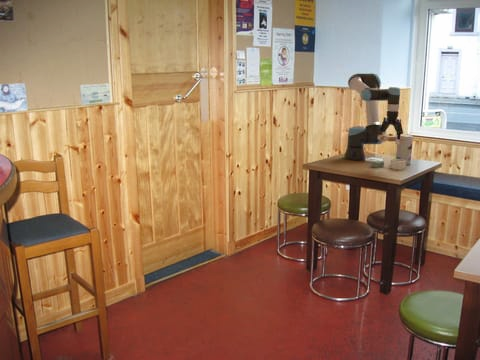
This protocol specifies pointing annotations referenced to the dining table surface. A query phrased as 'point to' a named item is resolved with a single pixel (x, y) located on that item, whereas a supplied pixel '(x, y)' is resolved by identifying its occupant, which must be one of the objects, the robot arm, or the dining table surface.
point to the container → (405, 149)
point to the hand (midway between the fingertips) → (390, 142)
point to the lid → (389, 137)
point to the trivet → (377, 164)
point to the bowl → (398, 164)
